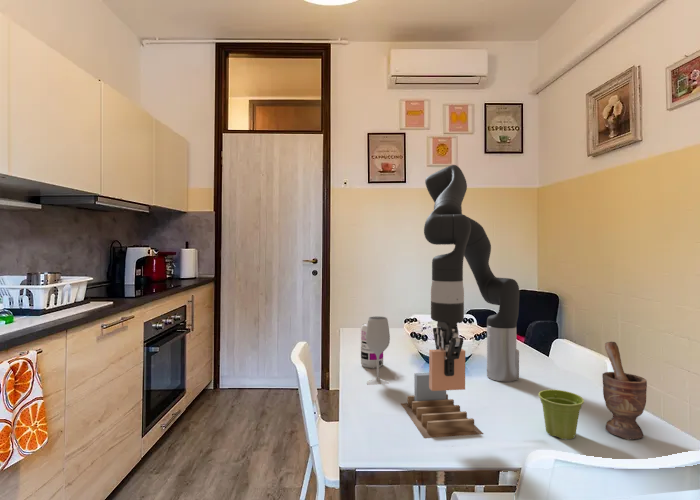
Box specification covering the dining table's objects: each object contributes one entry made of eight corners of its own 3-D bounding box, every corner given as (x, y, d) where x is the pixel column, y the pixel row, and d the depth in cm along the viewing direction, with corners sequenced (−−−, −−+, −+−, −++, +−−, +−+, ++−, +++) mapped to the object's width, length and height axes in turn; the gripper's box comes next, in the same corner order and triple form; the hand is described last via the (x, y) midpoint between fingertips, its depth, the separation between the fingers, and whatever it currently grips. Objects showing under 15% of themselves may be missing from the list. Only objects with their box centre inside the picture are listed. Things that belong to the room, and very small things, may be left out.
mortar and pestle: (584, 420, 101) (584, 341, 101) (613, 418, 103) (614, 339, 103) (623, 442, 90) (623, 352, 90) (656, 439, 92) (656, 351, 91)
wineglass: (388, 388, 125) (388, 320, 125) (364, 386, 126) (364, 319, 126) (391, 380, 132) (391, 316, 132) (368, 379, 134) (367, 315, 133)
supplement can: (385, 363, 152) (385, 323, 152) (379, 369, 144) (379, 327, 144) (364, 361, 154) (364, 322, 154) (358, 367, 147) (358, 326, 147)
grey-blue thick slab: (443, 405, 108) (443, 371, 108) (446, 408, 106) (446, 374, 106) (414, 407, 107) (414, 373, 107) (416, 410, 105) (416, 375, 105)
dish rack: (449, 405, 112) (449, 391, 111) (483, 439, 92) (483, 422, 92) (400, 407, 110) (400, 393, 110) (424, 443, 90) (424, 426, 90)
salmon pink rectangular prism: (461, 386, 96) (461, 348, 96) (465, 389, 94) (465, 350, 94) (429, 387, 95) (429, 349, 95) (431, 390, 93) (432, 351, 93)
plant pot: (593, 442, 90) (593, 403, 90) (553, 444, 89) (553, 405, 89) (567, 424, 99) (567, 389, 99) (530, 425, 99) (530, 390, 99)
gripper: (475, 303, 88) (475, 383, 88) (451, 296, 102) (451, 364, 102) (442, 304, 87) (442, 384, 87) (422, 296, 101) (422, 366, 101)
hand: (447, 373), depth 95 cm, fingers closed on salmon pink rectangular prism, 1 cm apart
